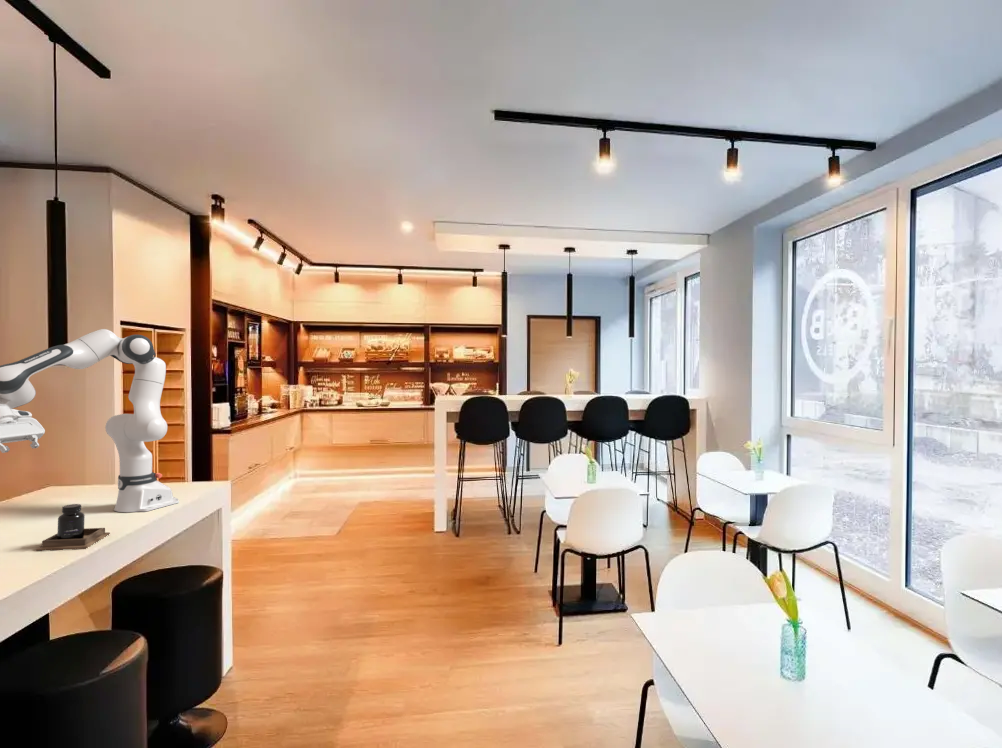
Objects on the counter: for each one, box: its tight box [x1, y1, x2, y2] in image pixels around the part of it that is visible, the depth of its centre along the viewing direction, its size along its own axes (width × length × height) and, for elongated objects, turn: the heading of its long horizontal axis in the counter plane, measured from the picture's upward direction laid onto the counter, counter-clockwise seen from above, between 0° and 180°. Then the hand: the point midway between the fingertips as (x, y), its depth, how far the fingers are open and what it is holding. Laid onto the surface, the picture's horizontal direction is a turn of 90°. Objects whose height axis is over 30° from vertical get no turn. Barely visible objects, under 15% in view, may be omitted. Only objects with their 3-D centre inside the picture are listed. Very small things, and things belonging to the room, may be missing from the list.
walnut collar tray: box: [35, 527, 111, 552], centre depth 171 cm, size 14×14×3 cm
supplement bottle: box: [56, 503, 85, 540], centre depth 169 cm, size 7×7×12 cm
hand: (21, 449), depth 177 cm, fingers open, 8 cm apart
